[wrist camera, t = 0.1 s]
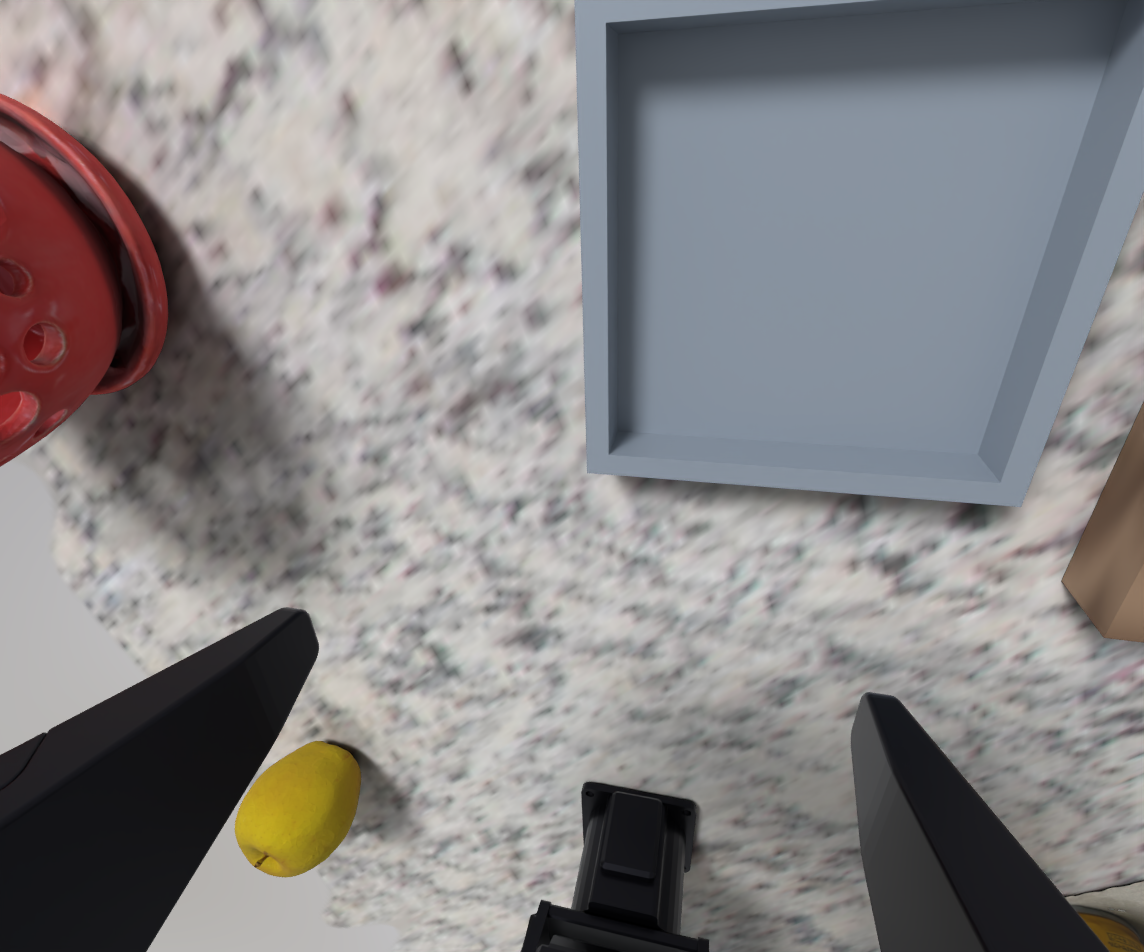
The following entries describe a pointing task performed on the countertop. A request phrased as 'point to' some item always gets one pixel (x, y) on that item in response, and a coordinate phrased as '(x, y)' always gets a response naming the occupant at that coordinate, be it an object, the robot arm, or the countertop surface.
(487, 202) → the countertop surface
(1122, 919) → the condiment
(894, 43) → the tray
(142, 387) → the countertop surface
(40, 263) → the plant pot
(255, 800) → the apple
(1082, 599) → the socket block
